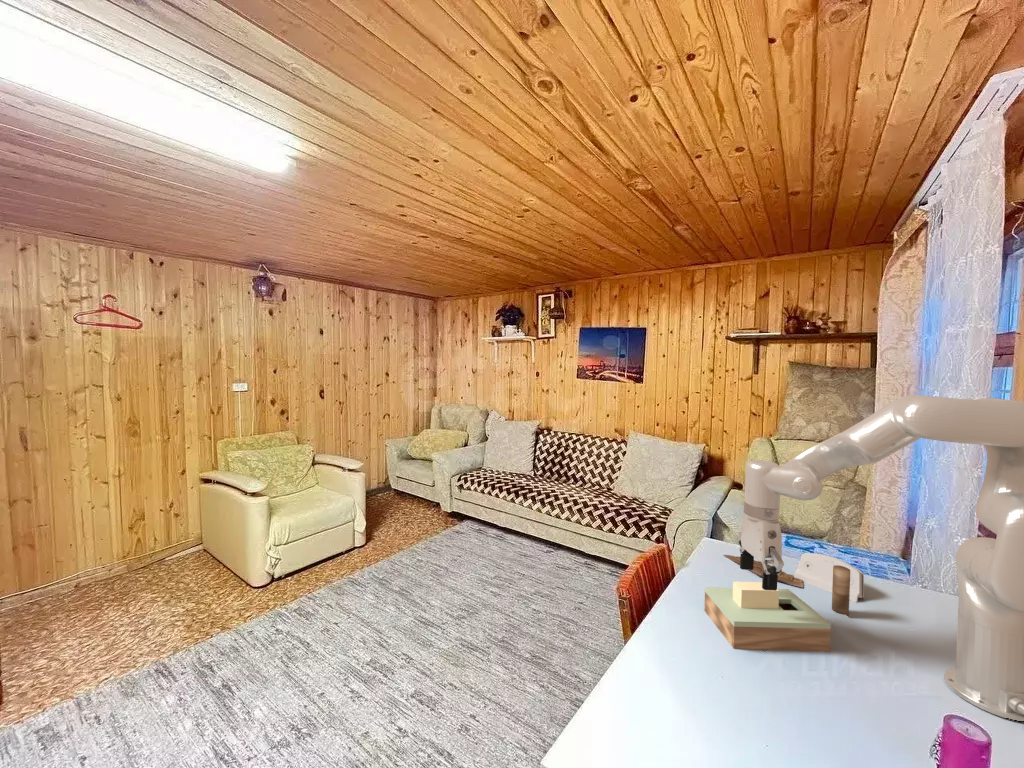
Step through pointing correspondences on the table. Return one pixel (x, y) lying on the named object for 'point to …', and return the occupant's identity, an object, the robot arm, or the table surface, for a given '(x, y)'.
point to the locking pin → (841, 590)
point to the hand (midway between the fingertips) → (757, 578)
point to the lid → (764, 607)
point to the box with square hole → (768, 633)
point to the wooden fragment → (759, 568)
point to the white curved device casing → (828, 573)
